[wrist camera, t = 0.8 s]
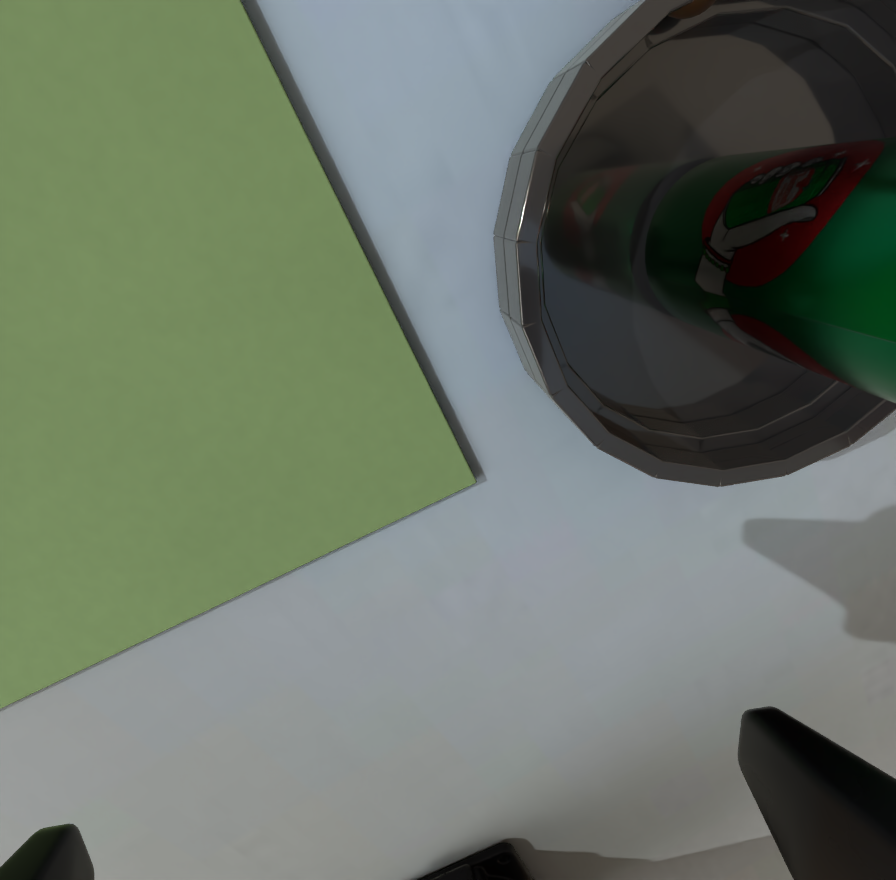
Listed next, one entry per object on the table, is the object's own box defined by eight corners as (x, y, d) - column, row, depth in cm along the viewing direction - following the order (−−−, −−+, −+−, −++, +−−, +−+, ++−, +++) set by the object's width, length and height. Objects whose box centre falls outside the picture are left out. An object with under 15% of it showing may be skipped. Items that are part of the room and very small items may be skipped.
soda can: (799, 290, 21) (1293, 396, 10) (656, 346, 21) (988, 514, 10) (777, 130, 19) (1356, 39, 8) (619, 191, 19) (980, 186, 8)
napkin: (475, 479, 22) (476, 482, 22) (-29, 718, 23) (-34, 725, 23) (131, -223, 15) (127, -231, 14) (-602, 165, 15) (-619, 164, 15)
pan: (941, 342, 23) (1028, 364, 20) (582, 510, 23) (616, 556, 20) (877, -113, 18) (983, -176, 15) (417, 117, 18) (428, 102, 15)
